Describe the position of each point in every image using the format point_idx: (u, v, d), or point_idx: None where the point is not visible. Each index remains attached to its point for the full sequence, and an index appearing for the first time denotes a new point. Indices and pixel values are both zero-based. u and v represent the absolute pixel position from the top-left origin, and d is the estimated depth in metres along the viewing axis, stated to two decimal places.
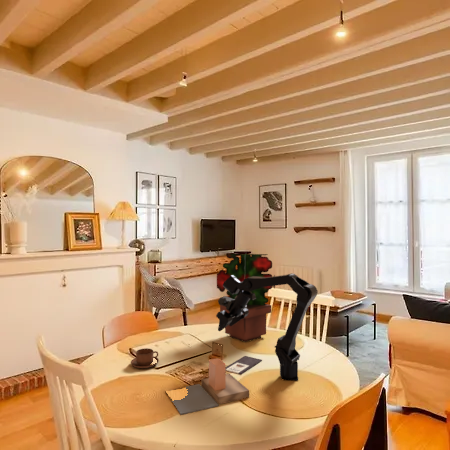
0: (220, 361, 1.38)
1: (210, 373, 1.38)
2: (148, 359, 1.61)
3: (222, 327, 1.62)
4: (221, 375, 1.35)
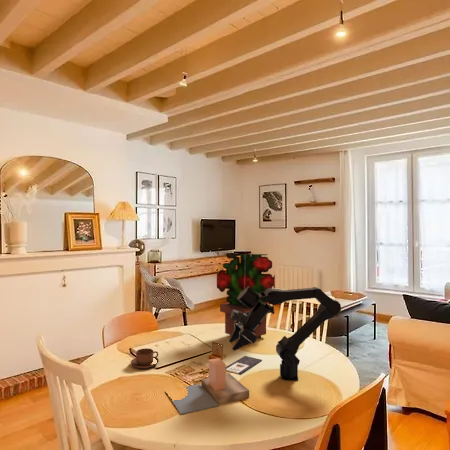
0: (220, 361, 1.38)
1: (210, 373, 1.38)
2: (148, 359, 1.61)
3: (241, 346, 1.43)
4: (221, 375, 1.35)
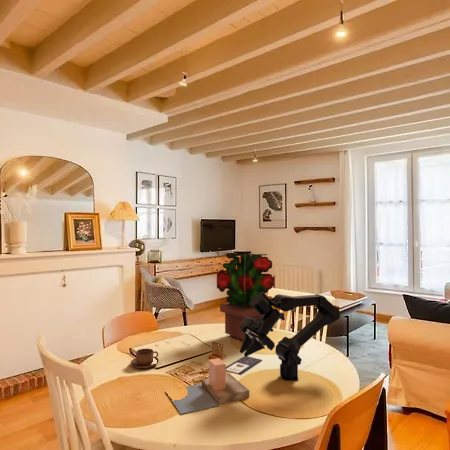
0: (220, 361, 1.38)
1: (210, 373, 1.38)
2: (148, 359, 1.61)
3: (253, 351, 1.40)
4: (221, 375, 1.35)
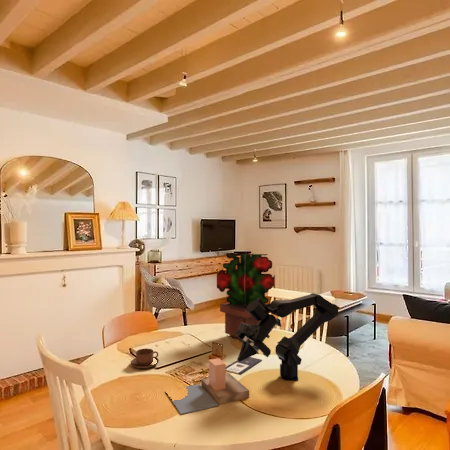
0: (220, 361, 1.38)
1: (210, 373, 1.38)
2: (148, 359, 1.61)
3: (247, 356, 1.41)
4: (221, 375, 1.35)
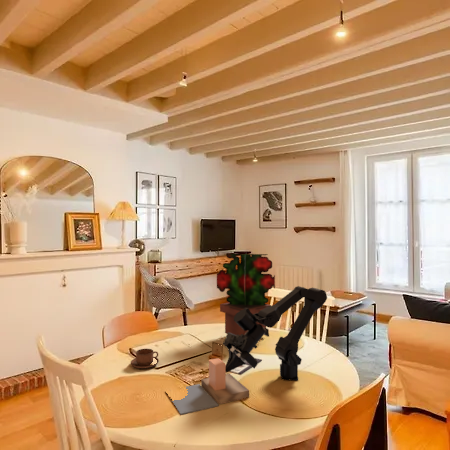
0: (220, 361, 1.38)
1: (210, 373, 1.38)
2: (148, 359, 1.61)
3: (234, 367, 1.39)
4: (221, 375, 1.35)
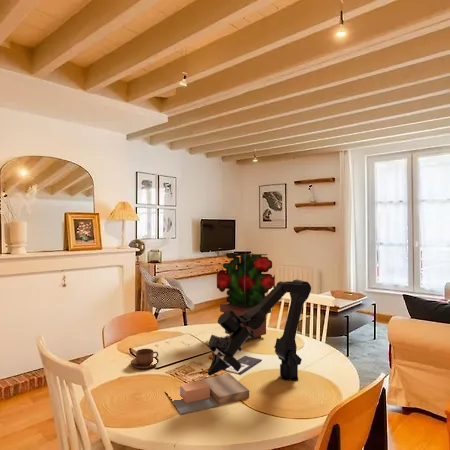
0: (183, 390, 1.32)
1: None
2: (148, 359, 1.61)
3: (217, 370, 1.36)
4: (197, 393, 1.31)
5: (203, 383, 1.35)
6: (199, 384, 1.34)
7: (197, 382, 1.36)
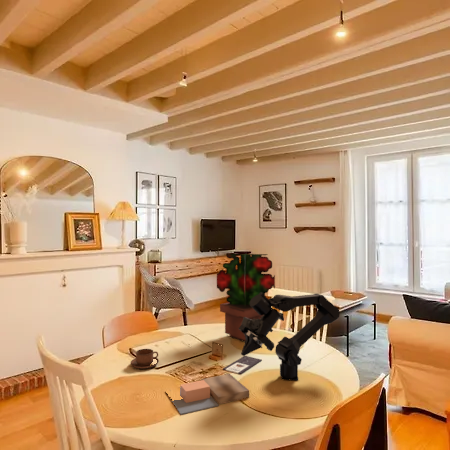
0: (183, 390, 1.32)
1: None
2: (148, 359, 1.61)
3: (250, 350, 1.42)
4: (197, 393, 1.31)
5: (203, 383, 1.35)
6: (199, 384, 1.34)
7: (197, 382, 1.36)
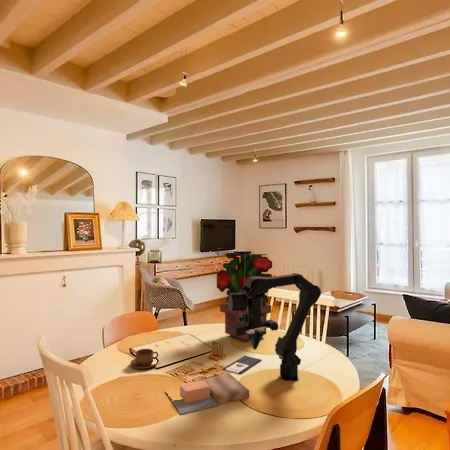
0: (183, 390, 1.32)
1: None
2: (148, 359, 1.61)
3: (253, 342, 1.45)
4: (197, 393, 1.31)
5: (203, 383, 1.35)
6: (199, 384, 1.34)
7: (197, 382, 1.36)
